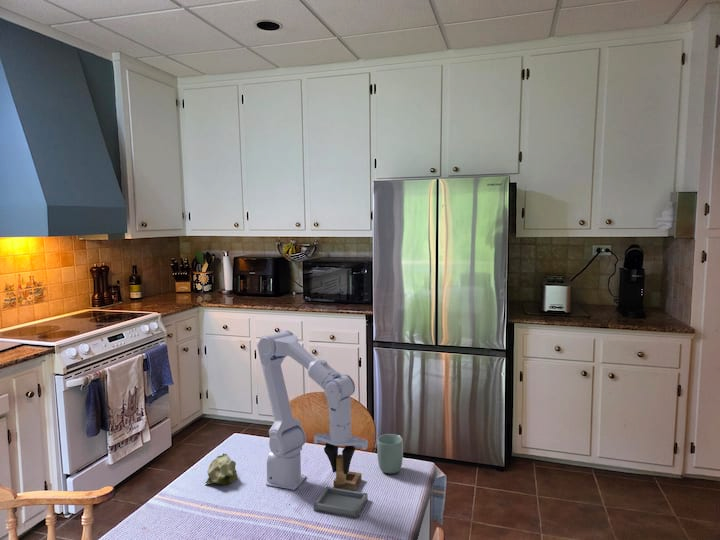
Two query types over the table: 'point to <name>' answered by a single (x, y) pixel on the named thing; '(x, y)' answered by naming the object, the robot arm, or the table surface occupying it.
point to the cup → (390, 453)
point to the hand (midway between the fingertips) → (340, 471)
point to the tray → (341, 502)
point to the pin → (340, 470)
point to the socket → (351, 484)
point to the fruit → (222, 470)
